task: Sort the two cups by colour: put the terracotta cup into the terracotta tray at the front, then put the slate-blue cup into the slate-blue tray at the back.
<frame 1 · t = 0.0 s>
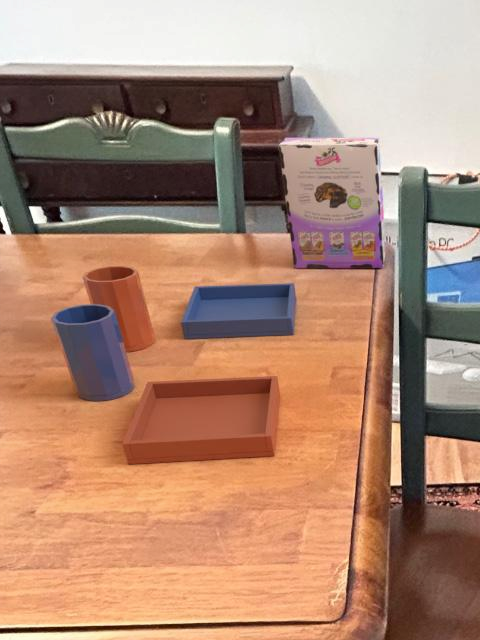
candy box: (340, 264, 114), on the table
blue tray: (243, 317, 95), on the table
blue cup: (106, 389, 79), on the table
terracotta tray: (210, 426, 73), on the table
terracotta cup: (129, 342, 89), on the table
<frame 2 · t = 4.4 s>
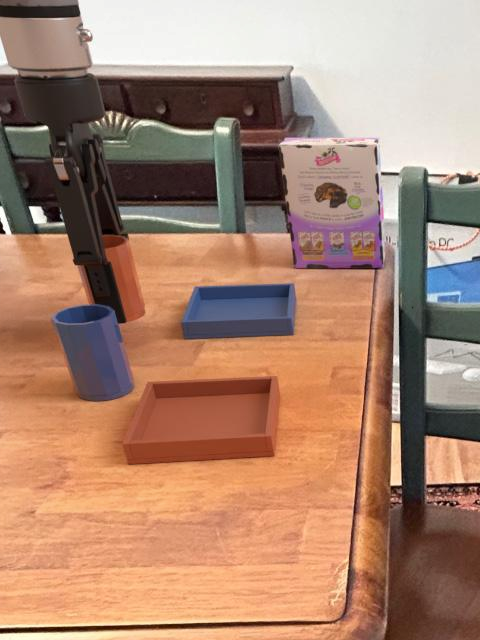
hand: (119, 311, 87), 4 cm above the table, tool pointing down, fingers closed on terracotta cup, 6 cm apart
terracotta cup: (119, 314, 87), point 3 cm above the table, touching gripper
everything else where it was.
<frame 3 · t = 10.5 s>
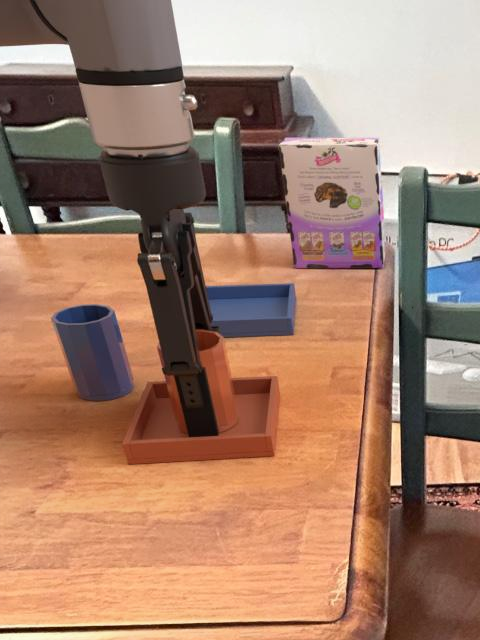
hand: (207, 418, 72), 1 cm above the table, tool pointing down, fingers closed on terracotta cup, 6 cm apart
terracotta cup: (208, 421, 73), point 1 cm above the table, touching gripper
everything else where it was.
when the fingers open (2 cm above the table, at t = 14.6 s): terracotta cup stays where it is, resting on terracotta tray.
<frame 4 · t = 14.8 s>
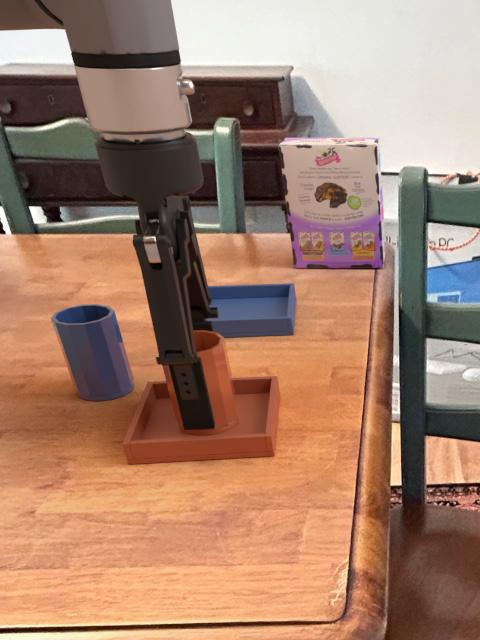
hand: (205, 406, 71), 2 cm above the table, tool pointing down, fingers open, 8 cm apart
terracotta cup: (209, 421, 73), point 1 cm above the table, touching terracotta tray
everything else where it was.
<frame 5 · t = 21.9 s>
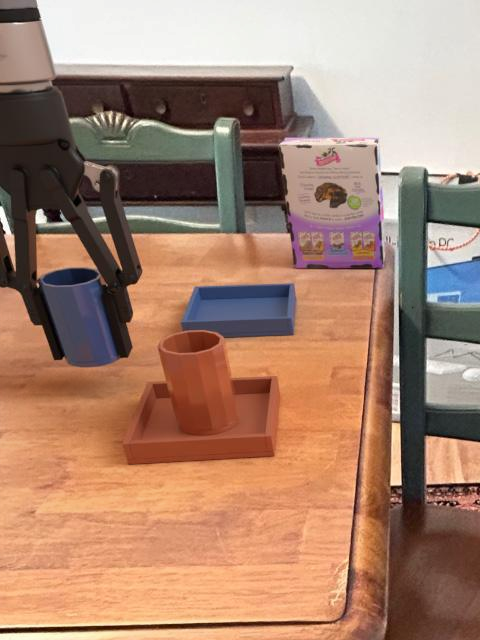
hand: (94, 353, 77), 4 cm above the table, tool pointing down, fingers closed on blue cup, 6 cm apart
blue cup: (95, 355, 77), point 4 cm above the table, touching gripper
everything else where it was.
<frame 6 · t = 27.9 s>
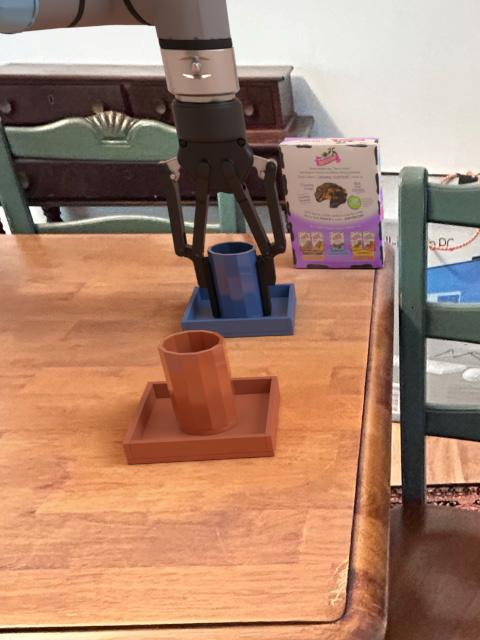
hand: (242, 311, 95), 1 cm above the table, tool pointing down, fingers closed on blue cup, 6 cm apart
blue cup: (243, 313, 95), point 1 cm above the table, touching gripper
everything else where it was.
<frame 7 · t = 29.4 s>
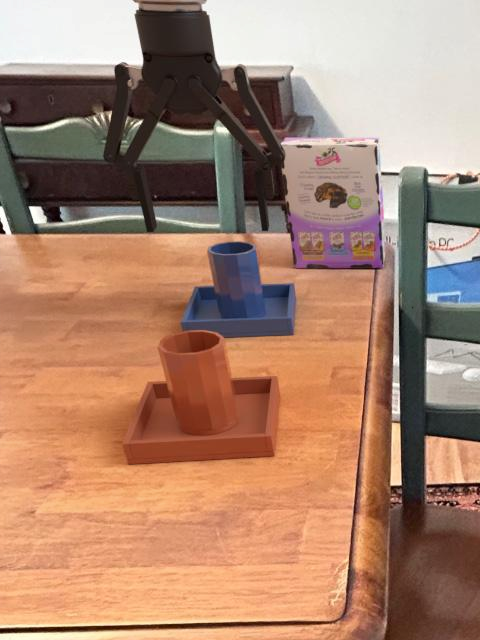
hand: (209, 228, 90), 10 cm above the table, tool pointing down, fingers open, 13 cm apart
blue cup: (243, 313, 95), resting on blue tray
everything else where it was.
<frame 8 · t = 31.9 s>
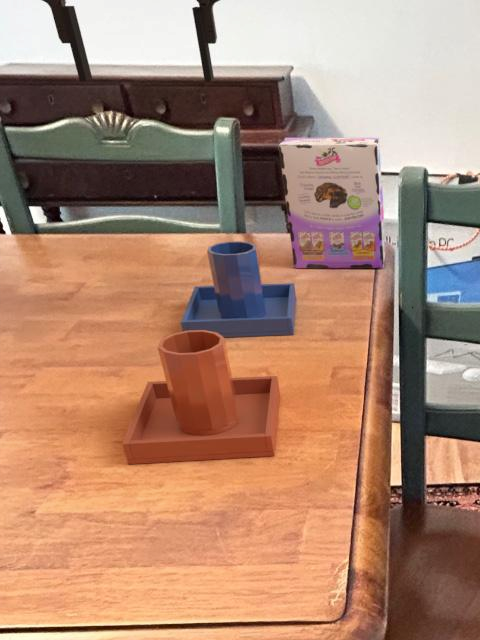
hand: (148, 80, 84), 25 cm above the table, tool pointing down, fingers open, 13 cm apart
nothing on the table moved.
at the end: terracotta cup inside the target area in the terracotta tray (0.1 cm from its centre), point 0.5 cm above the terracotta tray's base; blue cup inside the target area in the blue tray (0.0 cm from its centre), point 0.5 cm above the blue tray's base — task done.
